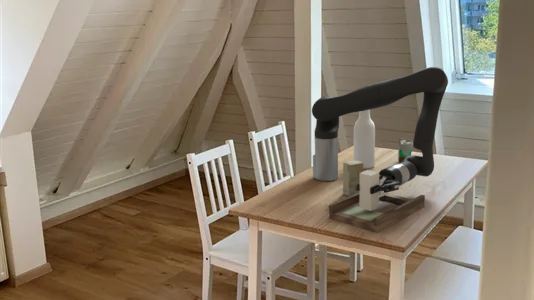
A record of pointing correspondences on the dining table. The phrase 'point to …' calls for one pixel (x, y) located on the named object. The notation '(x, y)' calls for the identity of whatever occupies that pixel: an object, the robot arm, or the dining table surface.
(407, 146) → the food container
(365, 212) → the channel
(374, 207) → the block
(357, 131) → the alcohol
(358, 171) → the skincare box
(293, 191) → the dining table surface
